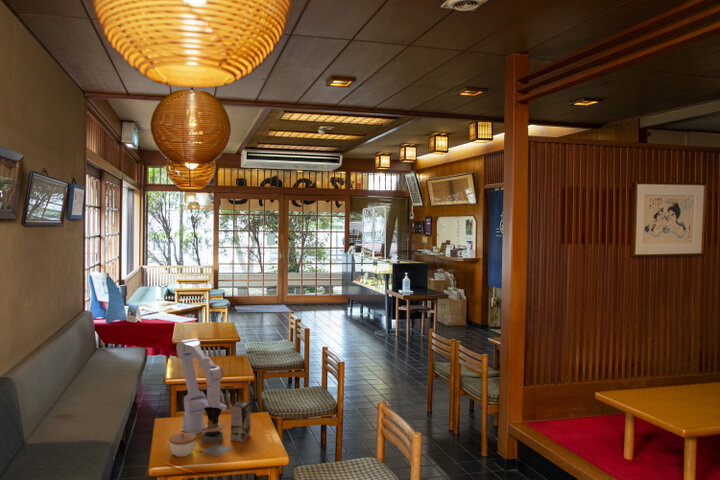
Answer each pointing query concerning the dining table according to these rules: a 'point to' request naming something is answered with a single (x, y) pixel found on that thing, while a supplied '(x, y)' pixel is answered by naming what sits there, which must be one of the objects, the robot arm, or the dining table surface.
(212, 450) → the mat
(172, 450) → the lidded jar
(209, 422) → the lid
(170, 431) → the dining table surface
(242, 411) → the coffee box
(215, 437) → the bowl
